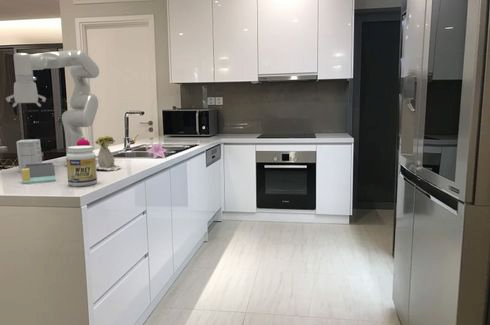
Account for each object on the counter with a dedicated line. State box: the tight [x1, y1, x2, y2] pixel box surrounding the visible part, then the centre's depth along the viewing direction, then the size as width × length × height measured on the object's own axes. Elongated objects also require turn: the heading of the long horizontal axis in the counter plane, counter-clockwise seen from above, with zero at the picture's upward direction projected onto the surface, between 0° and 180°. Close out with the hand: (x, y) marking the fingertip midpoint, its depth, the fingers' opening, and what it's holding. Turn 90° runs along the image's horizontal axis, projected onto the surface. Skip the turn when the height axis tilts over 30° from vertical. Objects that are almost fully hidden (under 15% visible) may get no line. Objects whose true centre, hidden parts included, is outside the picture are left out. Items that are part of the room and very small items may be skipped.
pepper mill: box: [77, 135, 91, 146], centre depth 197 cm, size 7×7×20 cm
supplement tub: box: [65, 145, 98, 187], centre depth 179 cm, size 12×12×17 cm
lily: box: [146, 141, 168, 160], centre depth 260 cm, size 12×12×10 cm
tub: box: [24, 162, 56, 178], centre depth 198 cm, size 13×9×6 cm
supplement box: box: [16, 138, 43, 173], centre depth 211 cm, size 10×9×17 cm
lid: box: [21, 168, 57, 186], centre depth 184 cm, size 13×9×7 cm
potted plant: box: [94, 135, 121, 172], centre depth 216 cm, size 12×13×18 cm
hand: (27, 115), depth 196 cm, fingers open, 9 cm apart
